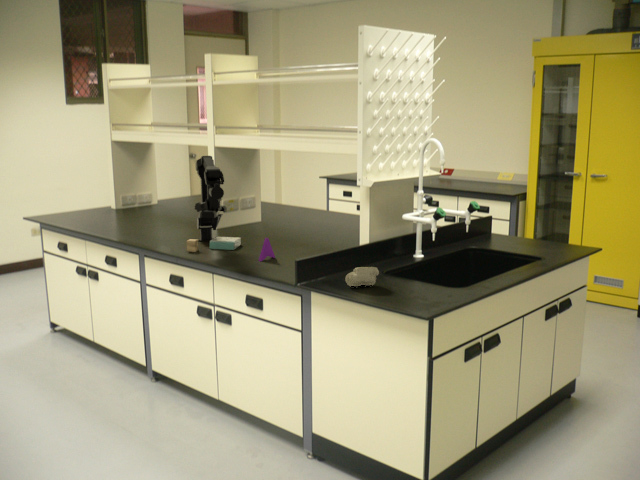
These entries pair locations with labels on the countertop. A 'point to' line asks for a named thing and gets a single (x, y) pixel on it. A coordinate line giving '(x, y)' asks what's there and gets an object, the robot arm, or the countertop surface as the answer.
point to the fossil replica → (362, 276)
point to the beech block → (192, 245)
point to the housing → (228, 240)
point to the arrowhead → (266, 250)
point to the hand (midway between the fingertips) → (214, 230)
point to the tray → (222, 245)
